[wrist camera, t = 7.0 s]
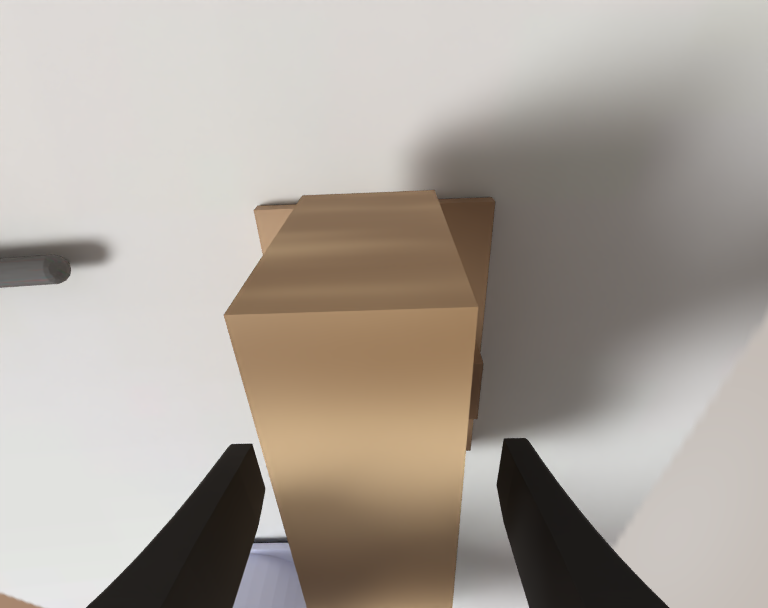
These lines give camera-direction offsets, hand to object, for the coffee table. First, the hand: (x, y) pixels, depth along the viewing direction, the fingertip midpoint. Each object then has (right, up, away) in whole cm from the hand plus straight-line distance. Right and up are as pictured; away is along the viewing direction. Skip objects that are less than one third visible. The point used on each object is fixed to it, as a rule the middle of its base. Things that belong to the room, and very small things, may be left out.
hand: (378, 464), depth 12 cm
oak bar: (0, +2, +2) cm, 3 cm away
